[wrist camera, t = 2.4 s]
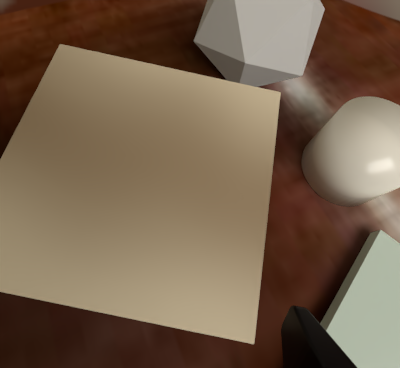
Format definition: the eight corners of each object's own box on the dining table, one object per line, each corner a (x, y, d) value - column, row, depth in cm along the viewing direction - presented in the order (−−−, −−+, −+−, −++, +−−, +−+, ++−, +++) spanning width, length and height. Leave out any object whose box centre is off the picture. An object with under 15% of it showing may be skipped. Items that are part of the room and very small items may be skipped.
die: (304, 110, 23) (371, -30, 18) (241, 113, 17) (313, -92, 12) (234, 77, 27) (272, -44, 22) (164, 71, 22) (195, -94, 17)
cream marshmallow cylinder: (356, 223, 19) (407, 205, 15) (286, 171, 20) (315, 141, 16) (391, 165, 21) (444, 134, 17) (325, 120, 22) (360, 80, 18)
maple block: (195, 303, 16) (254, 344, 4) (112, 286, 16) (-62, 279, 4) (209, 222, 18) (280, 92, 6) (135, 206, 18) (60, 44, 6)
